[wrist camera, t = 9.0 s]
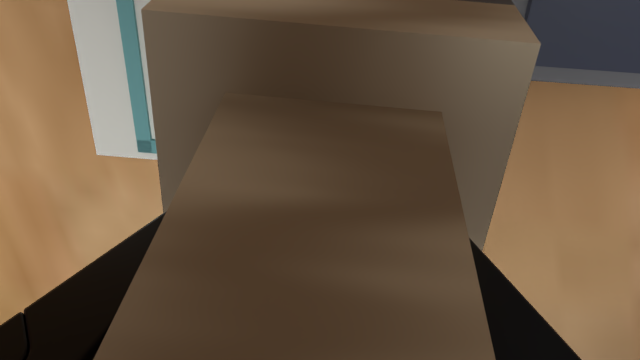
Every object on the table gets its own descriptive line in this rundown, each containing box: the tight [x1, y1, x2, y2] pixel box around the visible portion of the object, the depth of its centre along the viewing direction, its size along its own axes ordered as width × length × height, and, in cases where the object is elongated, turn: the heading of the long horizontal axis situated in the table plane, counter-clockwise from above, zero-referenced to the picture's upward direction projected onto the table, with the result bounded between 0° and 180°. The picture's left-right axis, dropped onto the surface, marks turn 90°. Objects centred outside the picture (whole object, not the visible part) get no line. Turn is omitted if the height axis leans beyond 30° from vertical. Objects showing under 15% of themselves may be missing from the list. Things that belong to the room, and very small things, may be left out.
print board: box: [67, 0, 158, 160], centre depth 21 cm, size 14×12×1 cm
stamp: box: [93, 0, 541, 360], centre depth 9 cm, size 6×6×8 cm
